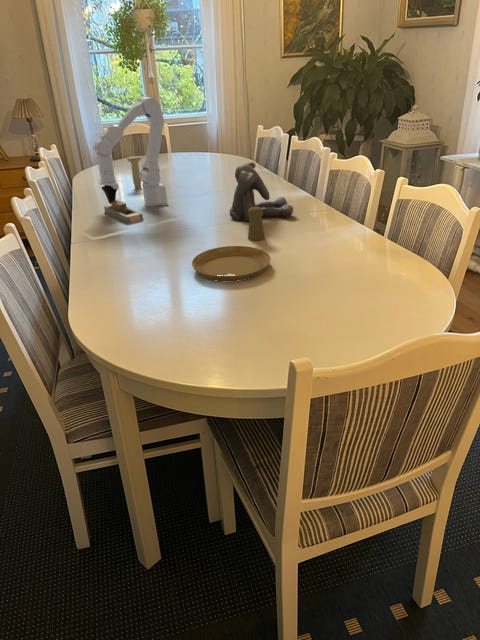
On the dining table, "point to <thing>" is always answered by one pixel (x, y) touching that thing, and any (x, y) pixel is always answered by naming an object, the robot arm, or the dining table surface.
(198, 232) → the dining table surface
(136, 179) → the handle
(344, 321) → the dining table surface
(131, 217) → the rail
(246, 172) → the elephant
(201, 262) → the plant saucer
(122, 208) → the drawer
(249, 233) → the cork
